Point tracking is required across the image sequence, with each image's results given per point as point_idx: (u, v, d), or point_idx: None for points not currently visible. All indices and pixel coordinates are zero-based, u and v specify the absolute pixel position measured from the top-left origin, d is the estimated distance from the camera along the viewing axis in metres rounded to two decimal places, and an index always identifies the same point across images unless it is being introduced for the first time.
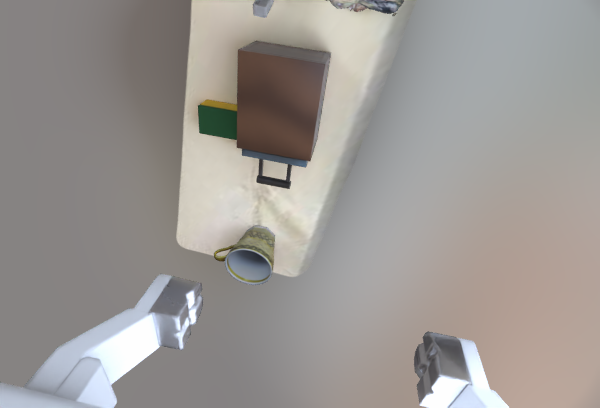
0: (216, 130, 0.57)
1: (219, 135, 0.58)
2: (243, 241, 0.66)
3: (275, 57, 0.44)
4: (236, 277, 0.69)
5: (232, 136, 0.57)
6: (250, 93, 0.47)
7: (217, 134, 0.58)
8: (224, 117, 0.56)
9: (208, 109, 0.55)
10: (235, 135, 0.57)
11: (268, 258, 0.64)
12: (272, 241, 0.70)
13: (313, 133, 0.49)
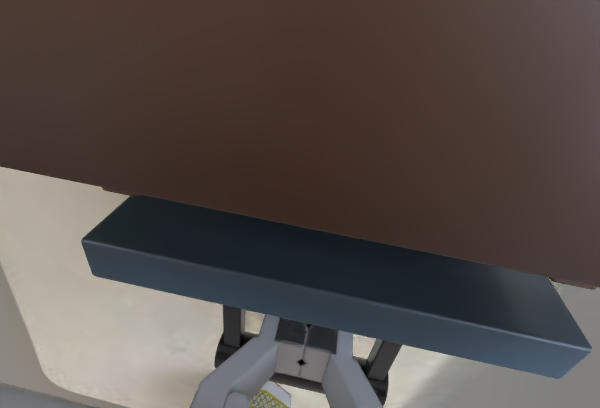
0: None
1: None
2: None
3: None
4: None
5: None
6: None
7: None
8: None
9: None
10: None
11: None
12: None
13: None
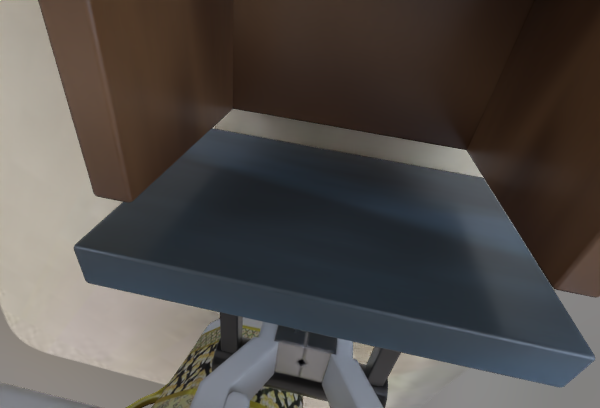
0: None
1: None
2: None
3: None
4: None
5: None
6: None
7: None
8: None
9: None
10: None
11: None
12: None
13: None
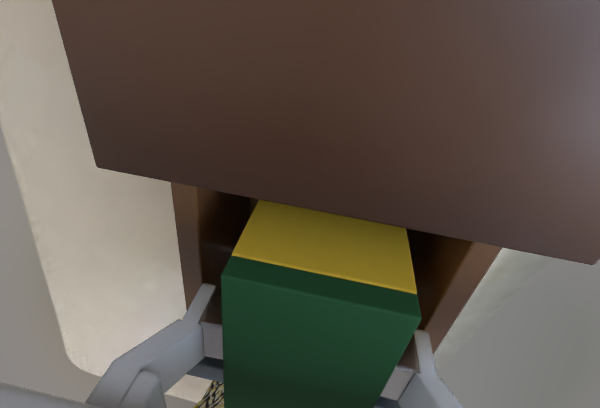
0: (342, 392, 0.10)
1: (373, 392, 0.10)
2: None
3: None
4: None
5: (385, 345, 0.08)
6: None
7: (366, 397, 0.10)
8: (262, 348, 0.09)
9: (232, 388, 0.11)
10: (380, 329, 0.08)
11: None
12: None
13: None
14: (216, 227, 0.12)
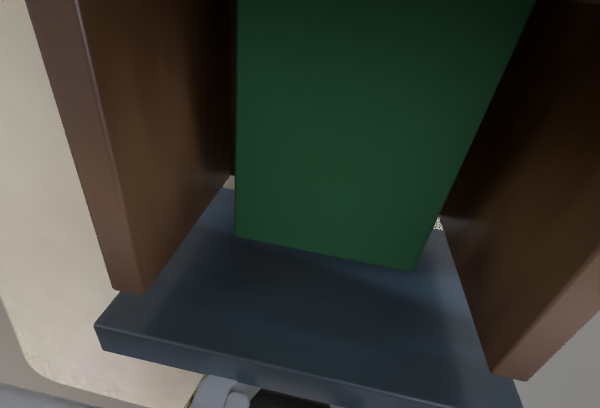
0: (409, 156, 0.07)
1: (458, 143, 0.07)
2: None
3: None
4: None
5: (498, 9, 0.05)
6: None
7: (445, 158, 0.07)
8: (297, 65, 0.06)
9: (247, 181, 0.08)
10: None
11: None
12: None
13: None
14: (140, 21, 0.06)
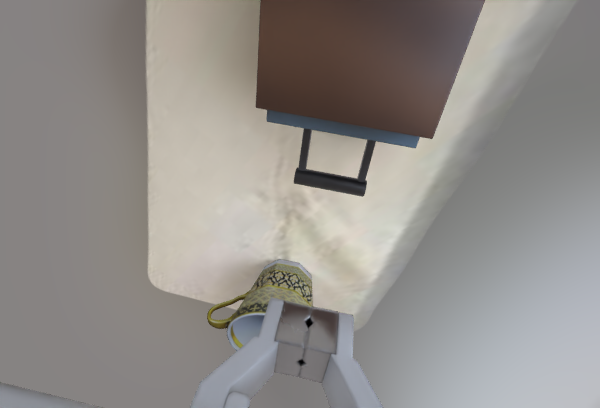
0: None
1: None
2: (260, 294, 0.36)
3: None
4: None
5: None
6: None
7: None
8: None
9: None
10: None
11: None
12: (309, 288, 0.40)
13: (458, 63, 0.19)
14: None
